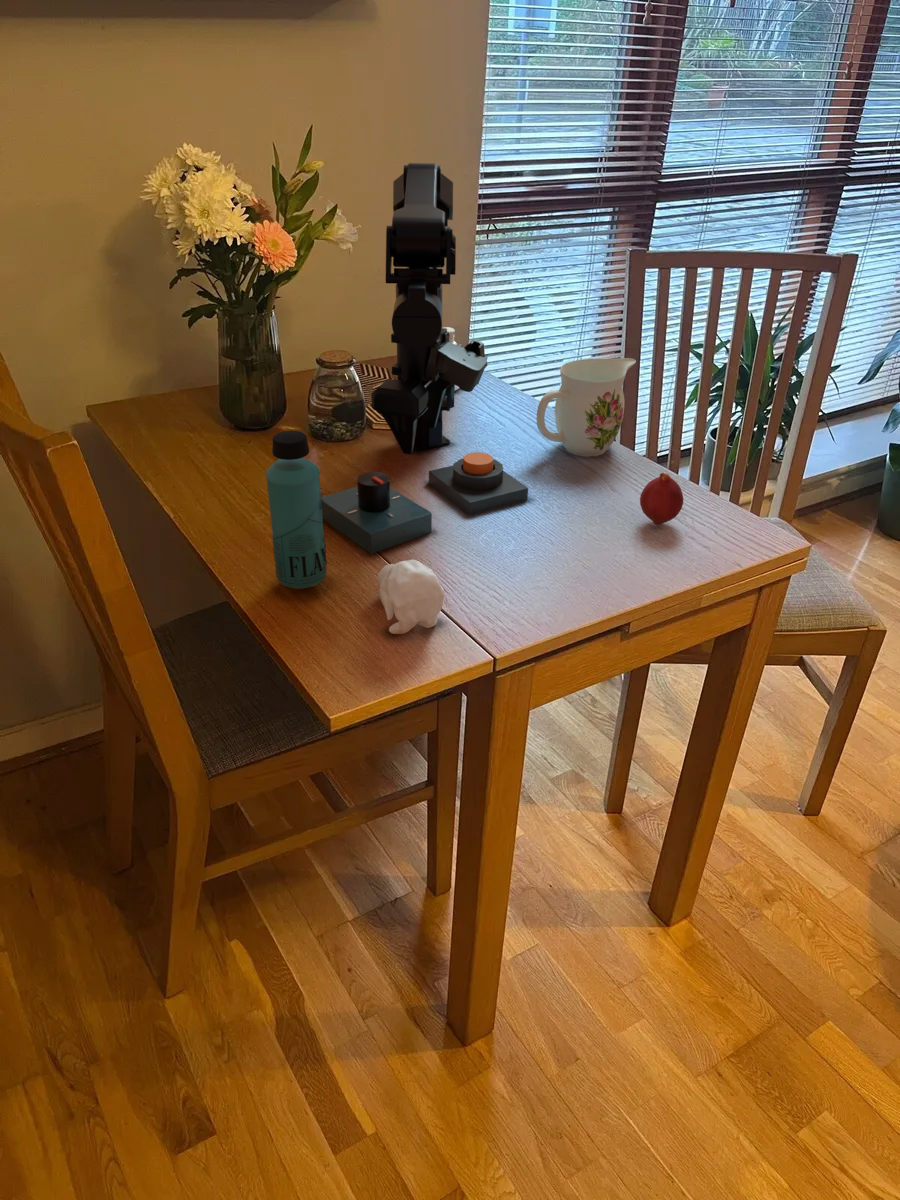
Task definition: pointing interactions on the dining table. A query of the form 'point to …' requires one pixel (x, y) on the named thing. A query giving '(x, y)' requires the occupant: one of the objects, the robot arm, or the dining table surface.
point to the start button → (478, 463)
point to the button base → (478, 487)
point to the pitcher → (587, 405)
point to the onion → (661, 499)
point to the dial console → (376, 520)
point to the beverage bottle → (296, 513)
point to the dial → (373, 491)
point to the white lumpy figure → (410, 595)
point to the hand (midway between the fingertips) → (419, 440)
